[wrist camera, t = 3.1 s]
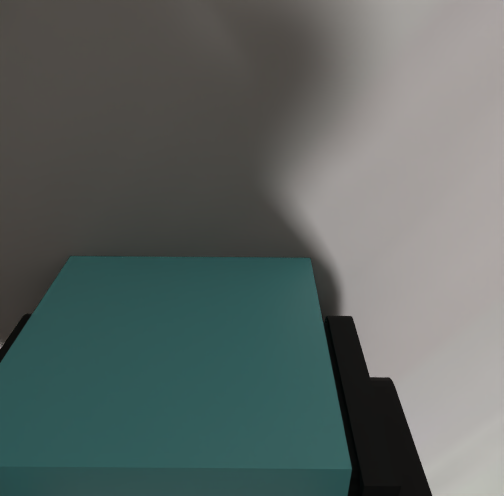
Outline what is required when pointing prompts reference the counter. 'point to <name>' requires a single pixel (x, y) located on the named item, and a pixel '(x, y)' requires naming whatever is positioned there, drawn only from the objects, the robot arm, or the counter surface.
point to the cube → (173, 383)
